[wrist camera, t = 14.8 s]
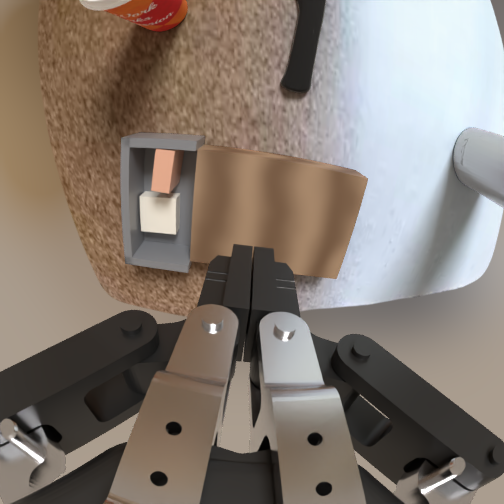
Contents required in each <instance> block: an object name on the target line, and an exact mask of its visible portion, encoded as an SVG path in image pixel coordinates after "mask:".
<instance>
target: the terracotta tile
mask: <svg viewBox="0 0 504 504" xmlns="http://www.w3.org/2000/svg"><path fill="white" fill-rule="evenodd" d="M183 155H184V150H175V149H159V148H156V152H155V160H154V168H153V177H152V187H151V191H156V192H162V193H168V194H169V193H170V192H171V191H172V190H173V189H174V188H175V186H176V185H177V184H178V183H179V182H180V175H181V168H182V162H183Z"/></svg>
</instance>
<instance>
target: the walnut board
mask: <svg viewBox="0 0 504 504" xmlns="http://www.w3.org/2000/svg"><path fill="white" fill-rule="evenodd" d="M367 181H368V178H366V177H365V176H363V175H362V174H360V173H359V172H357V171H356V170H352V169H348V168H344V167H340V166H336V165H331V164H327V163H322V162H317V161H312V160H307V159H302V158H297V157H291V156H286V155H280V154H274V153H268V152H261V151H254V150H247V149H240V148H232V147H223V146H214V145H203V146H202V147H200V148H199V149H198V151H197V161H196V172H195V184H194V197H193V211H192V227H191V248H190V261H192V262H200V263H208V264H210V262H211V261H212V260H213V259H214V258H215V257H216V256H217V255H221V256H229V257H231V255H232V249H233V244H239V245H248V246H253V251H254V246H257V247H265V248H273V249H274V258H275V262H281V263H286V264H287V265H288V266H289V267H290V269H291V270H292V271H293V274H297V275H306V276H315V277H324V278H333V279H337V276H338V273H339V271H340V268H341V265H342V262H343V259H344V256H345V253H346V250H347V247H348V244H349V241H350V238H351V235H352V232H353V229H354V226H355V223H356V219H357V216H358V213H359V209H360V206H361V203H362V199H363V196H364V192H365V189H366V185H367ZM253 251H252V257H253Z"/></svg>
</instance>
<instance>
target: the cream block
mask: <svg viewBox="0 0 504 504" xmlns="http://www.w3.org/2000/svg"><path fill="white" fill-rule="evenodd" d="M140 219H141V231H145V232H155V233H165V234H175V235H176V233H177V232H178V230H179V228H180V193H169V194H168V193H162V192H152V191H145V192H144V193H143V194H142V195H140Z"/></svg>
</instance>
